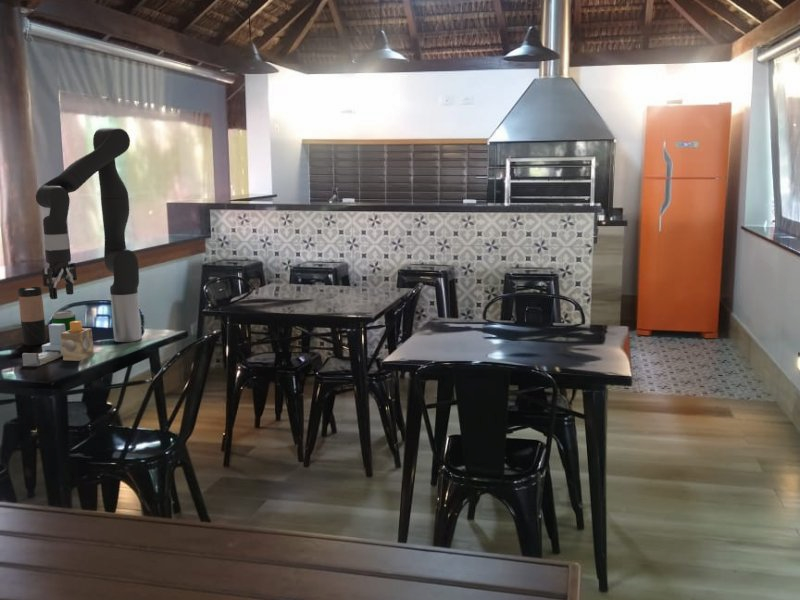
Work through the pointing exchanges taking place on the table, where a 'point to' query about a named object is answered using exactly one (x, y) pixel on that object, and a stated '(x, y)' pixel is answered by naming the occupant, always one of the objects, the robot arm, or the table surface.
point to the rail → (40, 357)
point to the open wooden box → (77, 344)
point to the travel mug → (32, 316)
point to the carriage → (55, 338)
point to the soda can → (63, 318)
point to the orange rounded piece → (76, 326)
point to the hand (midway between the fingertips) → (62, 296)
